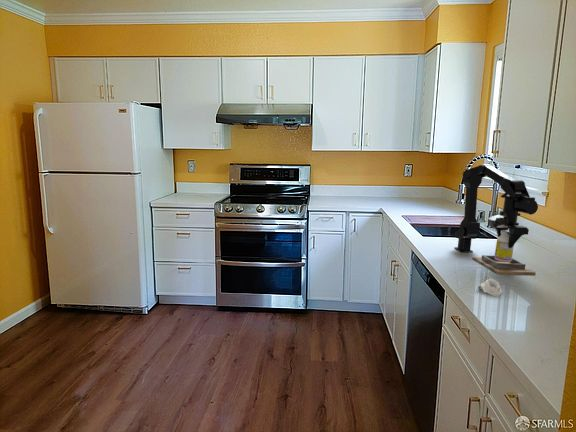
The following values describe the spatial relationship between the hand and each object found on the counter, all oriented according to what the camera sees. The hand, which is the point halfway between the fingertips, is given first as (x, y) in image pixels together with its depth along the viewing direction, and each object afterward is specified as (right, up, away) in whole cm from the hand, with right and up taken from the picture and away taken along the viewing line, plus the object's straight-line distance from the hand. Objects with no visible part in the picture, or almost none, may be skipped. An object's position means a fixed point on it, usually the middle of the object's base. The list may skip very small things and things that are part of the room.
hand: (505, 245), depth 170 cm
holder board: (0, -9, +2) cm, 9 cm away
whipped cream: (-21, -15, -29) cm, 38 cm away
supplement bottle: (0, -7, +1) cm, 7 cm away
